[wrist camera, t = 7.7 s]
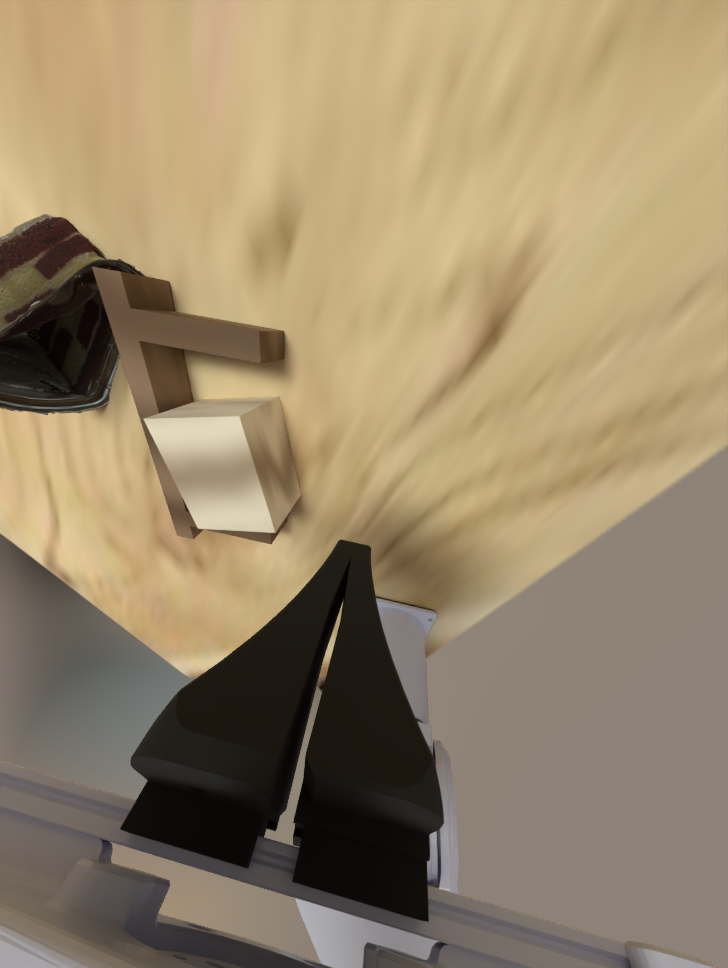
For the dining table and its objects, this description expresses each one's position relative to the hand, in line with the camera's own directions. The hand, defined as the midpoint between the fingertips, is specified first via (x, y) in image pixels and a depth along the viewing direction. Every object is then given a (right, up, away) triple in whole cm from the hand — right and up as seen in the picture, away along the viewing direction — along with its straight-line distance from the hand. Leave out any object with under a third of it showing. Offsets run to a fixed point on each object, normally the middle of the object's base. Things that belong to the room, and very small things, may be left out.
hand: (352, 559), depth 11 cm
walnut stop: (-10, +7, +9) cm, 15 cm away
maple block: (-8, +6, +9) cm, 14 cm away
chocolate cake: (-19, +15, +6) cm, 25 cm away
